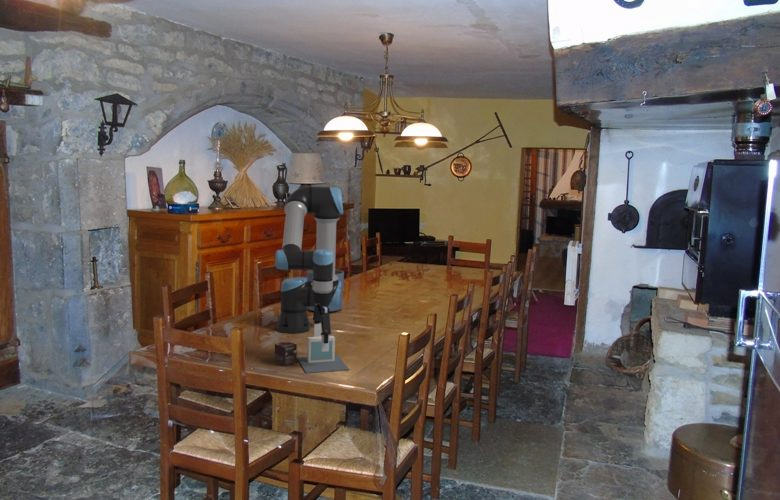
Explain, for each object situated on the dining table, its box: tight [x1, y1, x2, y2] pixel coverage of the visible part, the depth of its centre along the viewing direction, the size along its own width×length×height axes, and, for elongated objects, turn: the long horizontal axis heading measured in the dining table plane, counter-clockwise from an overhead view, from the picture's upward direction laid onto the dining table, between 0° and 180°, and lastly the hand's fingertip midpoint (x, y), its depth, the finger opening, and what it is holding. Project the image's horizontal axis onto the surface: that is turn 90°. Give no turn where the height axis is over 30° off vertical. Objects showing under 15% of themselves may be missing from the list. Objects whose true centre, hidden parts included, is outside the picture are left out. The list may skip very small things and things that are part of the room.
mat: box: [297, 354, 350, 374], centre depth 233 cm, size 18×16×1 cm
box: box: [274, 341, 298, 367], centre depth 232 cm, size 6×6×7 cm
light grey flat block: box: [306, 335, 336, 362], centre depth 235 cm, size 3×10×9 cm, turn 109°
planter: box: [306, 268, 345, 313], centre depth 318 cm, size 19×19×20 cm
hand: (321, 345), depth 235 cm, fingers open, 13 cm apart
